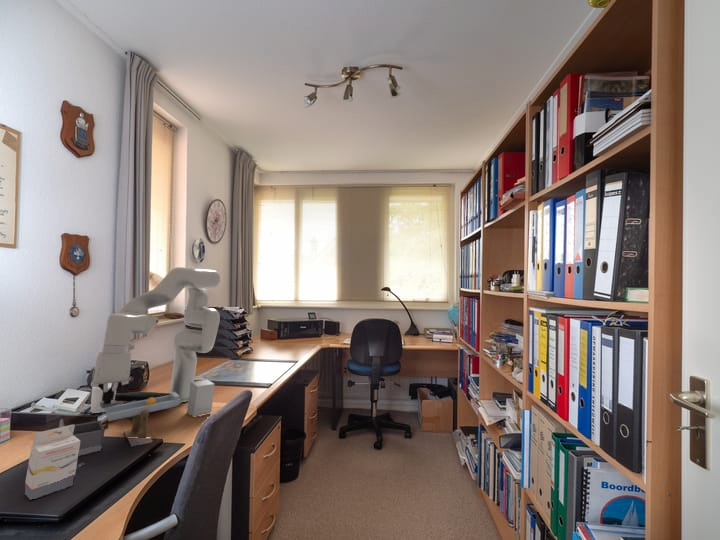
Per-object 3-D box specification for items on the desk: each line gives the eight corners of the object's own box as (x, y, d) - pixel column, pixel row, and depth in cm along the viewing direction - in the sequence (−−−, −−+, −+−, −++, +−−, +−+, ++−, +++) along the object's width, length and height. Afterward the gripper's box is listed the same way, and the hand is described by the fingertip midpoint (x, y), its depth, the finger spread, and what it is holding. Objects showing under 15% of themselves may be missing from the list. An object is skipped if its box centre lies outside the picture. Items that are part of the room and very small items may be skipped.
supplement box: (211, 414, 138) (215, 383, 139) (193, 418, 133) (197, 386, 134) (204, 408, 143) (208, 379, 144) (186, 412, 138) (190, 381, 139)
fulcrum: (143, 429, 120) (147, 400, 120) (152, 442, 111) (156, 411, 112) (123, 433, 116) (128, 402, 116) (131, 447, 107) (136, 414, 108)
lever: (166, 393, 130) (167, 384, 130) (179, 406, 119) (180, 396, 119) (99, 406, 115) (100, 396, 115) (107, 422, 104) (107, 411, 104)
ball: (148, 395, 116) (143, 403, 115) (150, 397, 114) (145, 406, 113) (156, 397, 118) (151, 406, 117) (158, 400, 116) (153, 408, 115)
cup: (97, 440, 109) (101, 413, 109) (101, 451, 103) (105, 421, 104) (55, 449, 102) (60, 419, 102) (57, 461, 96) (62, 429, 96)
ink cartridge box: (29, 502, 79) (39, 439, 80) (22, 494, 81) (32, 433, 82) (74, 486, 86) (83, 428, 87) (66, 478, 89) (75, 422, 89)
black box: (177, 393, 146) (158, 397, 127) (172, 415, 144) (152, 422, 125) (135, 390, 144) (109, 394, 125) (129, 412, 142) (102, 419, 123)
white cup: (99, 416, 126) (103, 389, 127) (83, 412, 128) (87, 386, 128) (118, 409, 134) (122, 384, 134) (102, 405, 136) (106, 381, 136)
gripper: (138, 346, 124) (130, 396, 123) (87, 347, 114) (77, 402, 112) (143, 350, 119) (134, 402, 117) (90, 352, 108) (80, 409, 107)
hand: (107, 402), depth 115 cm, fingers closed
